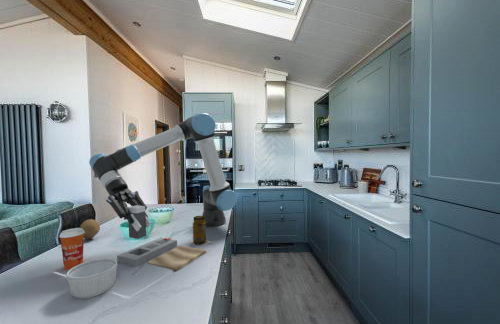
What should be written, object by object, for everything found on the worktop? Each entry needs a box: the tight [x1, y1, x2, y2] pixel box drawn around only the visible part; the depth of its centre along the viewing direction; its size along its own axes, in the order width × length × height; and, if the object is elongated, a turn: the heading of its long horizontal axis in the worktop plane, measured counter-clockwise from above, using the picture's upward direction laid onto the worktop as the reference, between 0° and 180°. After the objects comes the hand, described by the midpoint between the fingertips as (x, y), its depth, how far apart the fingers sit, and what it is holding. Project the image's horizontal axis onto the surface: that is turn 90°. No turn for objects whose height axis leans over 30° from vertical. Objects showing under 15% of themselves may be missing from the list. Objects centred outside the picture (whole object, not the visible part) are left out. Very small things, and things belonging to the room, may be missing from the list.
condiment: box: [189, 215, 212, 247], centre depth 114 cm, size 7×8×12 cm
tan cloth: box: [147, 244, 207, 272], centre depth 97 cm, size 18×14×1 cm
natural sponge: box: [79, 218, 101, 240], centre depth 122 cm, size 9×9×10 cm
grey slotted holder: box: [116, 236, 178, 268], centre depth 101 cm, size 22×10×4 cm, turn 154°
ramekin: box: [66, 257, 118, 299], centre depth 75 cm, size 13×13×7 cm
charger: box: [127, 205, 147, 240], centre depth 96 cm, size 4×5×12 cm
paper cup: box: [59, 227, 85, 271], centre depth 90 cm, size 8×8×14 cm
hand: (144, 227), depth 94 cm, fingers closed on charger, 4 cm apart
